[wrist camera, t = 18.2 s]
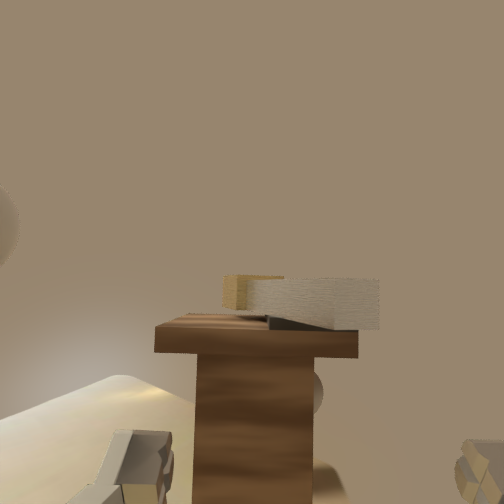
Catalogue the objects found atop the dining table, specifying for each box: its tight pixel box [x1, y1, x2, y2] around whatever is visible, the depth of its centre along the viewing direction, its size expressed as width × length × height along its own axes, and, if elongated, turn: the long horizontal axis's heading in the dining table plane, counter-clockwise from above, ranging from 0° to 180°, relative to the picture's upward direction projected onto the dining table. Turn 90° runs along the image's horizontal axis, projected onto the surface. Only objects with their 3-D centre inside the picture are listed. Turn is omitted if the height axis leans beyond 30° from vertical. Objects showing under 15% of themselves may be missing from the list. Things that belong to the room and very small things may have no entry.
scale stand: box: [154, 313, 358, 504], centre depth 39 cm, size 16×16×26 cm
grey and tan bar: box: [222, 275, 379, 330], centre depth 35 cm, size 24×5×4 cm, turn 17°
